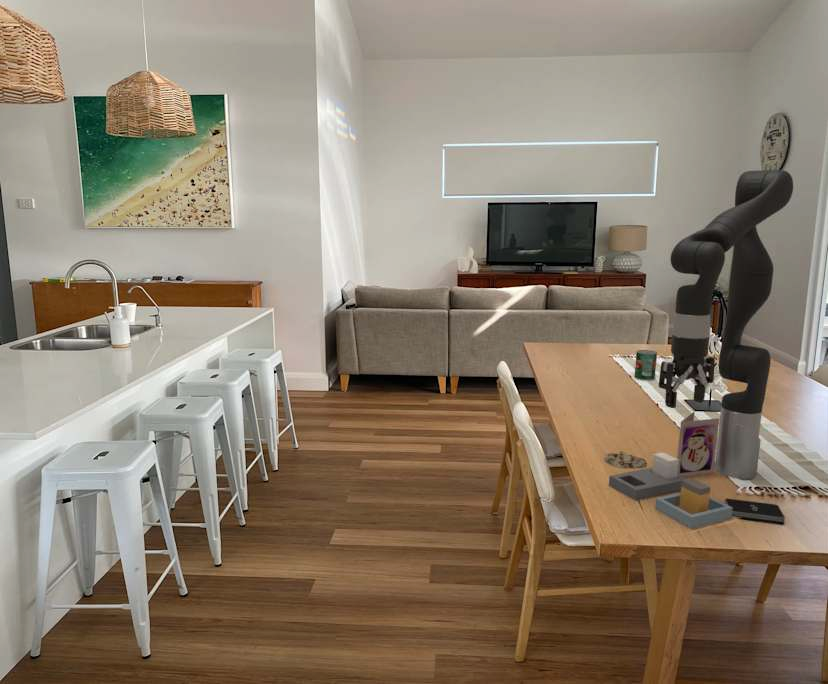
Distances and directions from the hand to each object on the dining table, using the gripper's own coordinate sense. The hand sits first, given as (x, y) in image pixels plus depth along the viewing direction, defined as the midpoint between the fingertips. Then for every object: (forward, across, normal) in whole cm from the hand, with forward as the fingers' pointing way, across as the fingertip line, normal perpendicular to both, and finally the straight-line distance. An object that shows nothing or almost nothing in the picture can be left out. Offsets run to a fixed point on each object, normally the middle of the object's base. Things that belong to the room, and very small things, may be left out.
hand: (684, 404), depth 144 cm
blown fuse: (+23, +3, +7) cm, 24 cm away
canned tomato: (+26, -78, -89) cm, 121 cm away
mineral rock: (+24, -5, -21) cm, 33 cm away
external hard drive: (+24, -10, +12) cm, 29 cm away
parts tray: (+23, +3, +7) cm, 24 cm away
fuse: (+23, -4, -7) cm, 24 cm away
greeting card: (+24, -16, -11) cm, 31 cm away
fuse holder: (+23, +1, -7) cm, 24 cm away
